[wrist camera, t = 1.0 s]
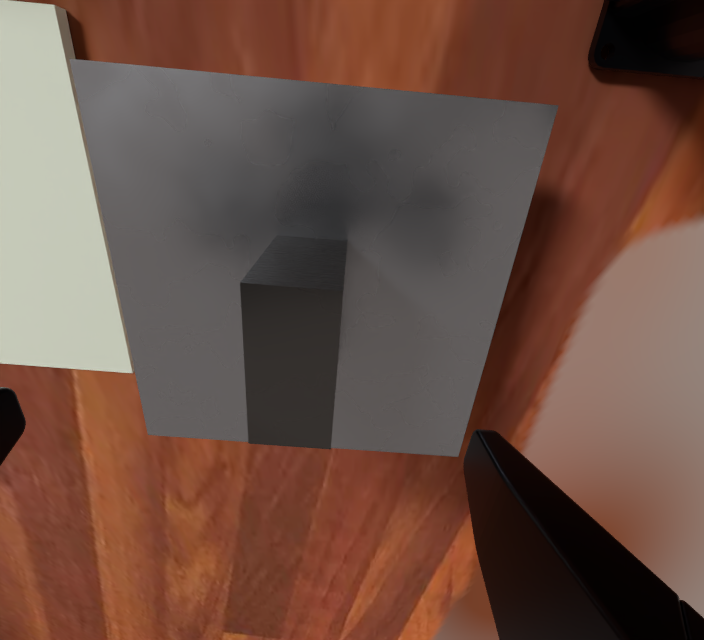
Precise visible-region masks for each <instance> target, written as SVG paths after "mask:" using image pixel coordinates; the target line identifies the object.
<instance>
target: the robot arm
mask: <svg viewBox="0 0 704 640" xmlns="http://www.w3.org/2000/svg"><path fill="white" fill-rule="evenodd" d="M603 46H607V47H608V49H609V53H608V56H607V58H606V59H605V60H604V59H602V57H601V50H602V48H603ZM588 61H589V64H590V65H591V66H592V68H595V69H601V70H611V71H621V72H631V73H642V74H652V75H662V76H672V77H682V78H692V79H702V80H704V0H604V3H603V7H602V10H601V13H600V17H599V20H598V23H597V27H596V30H595V33H594V37H593V40H592V43H591V47H590V50H589V54H588ZM25 425H26V421H25V417H24V415H23V412H22V409H21V407H20V404H19V401H18V399H17V396H16V394H15V392H14V391H13V390H12V389H9V388H5V387H0V465H1V464H2V463H3V461H4V460H5V458H6V457H7V455H8V454H9V452H10V451H11V450H12V448H13V447H14V445H15V444H16V442H17V441H18V440H19V438H20V437H21V435H22V434H23V432H24V429H25ZM464 475H465V482H466V488H467V495H468V501H469V508H470V514H471V521H472V527H473V534H474V540H475V545H476V550H477V555H478V559H479V563H480V567H481V571H482V574H483V578H484V582H485V586H486V590H487V593H488V597H489V601H490V605H491V609H492V612H493V616H494V620H495V624H496V628H497V632H498V636H499V640H704V618H703V617H702V616H701V615H700V614H698V613H697V612H696V611H695V610H694V609H693V608H692V607H691V606H690V605H689V604H687V603H686V602H685V601H683V600H679V597H678V595H677V594H676V593H675V592H674V591H673V590H672V589H671V588H669V587H668V586H667V585H666V584H665V583H664V582H663V581H662V580H660V579H659V578H658V577H657V576H656V575H655V574H654V573H653V572H652V571H651V570H649V569H648V568H647V567H646V566H645V565H644V564H643V563H642V562H641V561H640V560H638V559H637V558H636V557H635V556H634V555H633V554H632V553H631V552H630V551H628V550H627V549H626V548H625V547H624V546H623V545H622V544H621V543H620V542H618V541H617V540H616V539H615V538H614V537H613V536H612V535H611V534H610V533H609V532H607V531H606V530H605V529H604V528H603V527H602V526H601V525H600V524H599V523H597V522H596V521H595V520H594V519H593V518H592V517H591V516H590V515H589V514H587V513H586V512H585V511H584V510H583V509H582V508H581V507H580V506H579V505H578V504H576V503H575V502H574V501H573V500H572V499H571V498H570V497H569V496H567V495H566V494H565V493H564V492H563V491H562V490H561V489H560V488H559V487H558V486H556V485H555V484H554V483H553V482H552V481H551V480H550V479H549V478H548V477H546V476H545V475H544V474H543V473H542V472H541V471H540V470H539V469H538V468H536V467H535V466H534V465H533V464H532V463H531V462H530V461H529V460H528V459H527V458H525V457H524V456H523V455H522V454H521V453H520V452H519V451H518V450H517V449H515V448H514V447H513V446H512V445H511V444H510V443H509V442H508V441H507V440H505V439H504V438H503V437H502V436H501V435H500V434H499V433H497V432H496V431H492V430H480V429H477V430H475V431H474V432H473V434H472V436H471V439H470V442H469V446H468V449H467V452H466V455H465V458H464Z"/></svg>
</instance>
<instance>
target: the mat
mask: <svg viewBox="0 0 704 640" xmlns="http://www.w3.org/2000/svg"><path fill="white" fill-rule="evenodd" d="M70 59H75V54H74V49H73V44H72V39H71V34H70V29H69V24H68V19H67V14H66V10H65V9H63V8H60V7H58V6H56V5H50V4H40V3H30V2H20V1H10V0H0V363H3V364H16V365H30V366H43V367H56V368H70V369H83V370H96V371H110V372H123V373H133V372H134V371H135V370H134V365H133V360H132V356H131V351H130V346H129V341H128V336H127V332H126V327H125V322H124V317H123V313H122V308H121V303H120V298H119V293H118V289H117V284H116V279H115V274H114V270H113V265H112V260H111V255H110V250H109V246H108V241H107V236H106V231H105V227H104V222H103V217H102V212H101V207H100V203H99V198H98V193H97V188H96V184H95V179H94V174H93V169H92V164H91V160H90V155H89V150H88V145H87V141H86V136H85V131H84V126H83V121H82V117H81V112H80V107H79V102H78V98H77V93H76V88H75V83H74V79H73V74H72V69H71V64H70Z"/></svg>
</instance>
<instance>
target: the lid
mask: <svg viewBox="0 0 704 640" xmlns="http://www.w3.org/2000/svg"><path fill="white" fill-rule="evenodd" d="M70 64H71V69H72V74H73V79H74V83H75V88H76V93H77V98H78V102H79V107H80V112H81V117H82V121H83V126H84V131H85V136H86V141H87V145H88V150H89V155H90V160H91V164H92V169H93V174H94V179H95V184H96V188H97V193H98V198H99V203H100V207H101V212H102V217H103V222H104V227H105V231H106V236H107V241H108V246H109V250H110V255H111V260H112V265H113V270H114V274H115V279H116V284H117V289H118V293H119V298H120V303H121V308H122V313H123V317H124V322H125V327H126V332H127V336H128V341H129V346H130V351H131V356H132V360H133V365H134V370H135V375H136V379H137V384H138V389H139V394H140V398H141V403H142V408H143V413H144V418H145V422H146V427H147V432H148V435H158V436H172V437H186V438H201V439H215V440H229V441H243V442H248V443H250V444H264V445H278V446H292V447H307V448H321V449H331V448H341V449H355V450H369V451H383V452H398V453H412V454H426V455H440V456H454V457H458V456H459V452H460V449H461V445H462V442H463V438H464V435H465V431H466V428H467V424H468V421H469V417H470V414H471V410H472V407H473V403H474V400H475V396H476V393H477V389H478V386H479V382H480V379H481V375H482V372H483V368H484V365H485V361H486V358H487V354H488V351H489V347H490V344H491V340H492V337H493V333H494V330H495V326H496V323H497V319H498V316H499V312H500V309H501V305H502V302H503V298H504V295H505V291H506V288H507V284H508V281H509V277H510V274H511V270H512V267H513V263H514V260H515V256H516V253H517V249H518V246H519V242H520V239H521V235H522V231H523V228H524V224H525V221H526V217H527V214H528V210H529V207H530V203H531V200H532V196H533V193H534V189H535V186H536V182H537V179H538V175H539V172H540V168H541V165H542V161H543V158H544V154H545V151H546V147H547V144H548V140H549V137H550V133H551V130H552V126H553V123H554V119H555V116H556V112H557V109H558V105H547V104H537V103H526V102H516V101H506V100H495V99H485V98H474V97H464V96H453V95H443V94H432V93H422V92H412V91H401V90H391V89H380V88H370V87H359V86H349V85H338V84H328V83H317V82H307V81H297V80H286V79H276V78H265V77H255V76H244V75H234V74H223V73H213V72H203V71H192V70H182V69H171V68H161V67H150V66H140V65H129V64H119V63H109V62H98V61H88V60H77V59H70Z"/></svg>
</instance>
